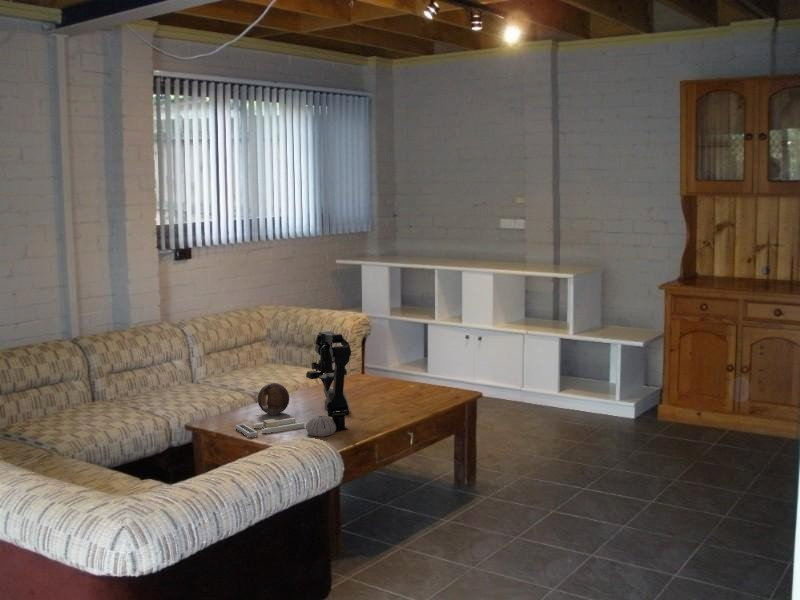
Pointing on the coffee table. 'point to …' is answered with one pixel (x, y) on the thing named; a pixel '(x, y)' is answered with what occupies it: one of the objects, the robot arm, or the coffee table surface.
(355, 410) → the coffee table surface
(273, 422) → the birch block
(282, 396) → the wooden sphere
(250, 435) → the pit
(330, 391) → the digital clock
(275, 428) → the channel
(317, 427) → the sea urchin shell
